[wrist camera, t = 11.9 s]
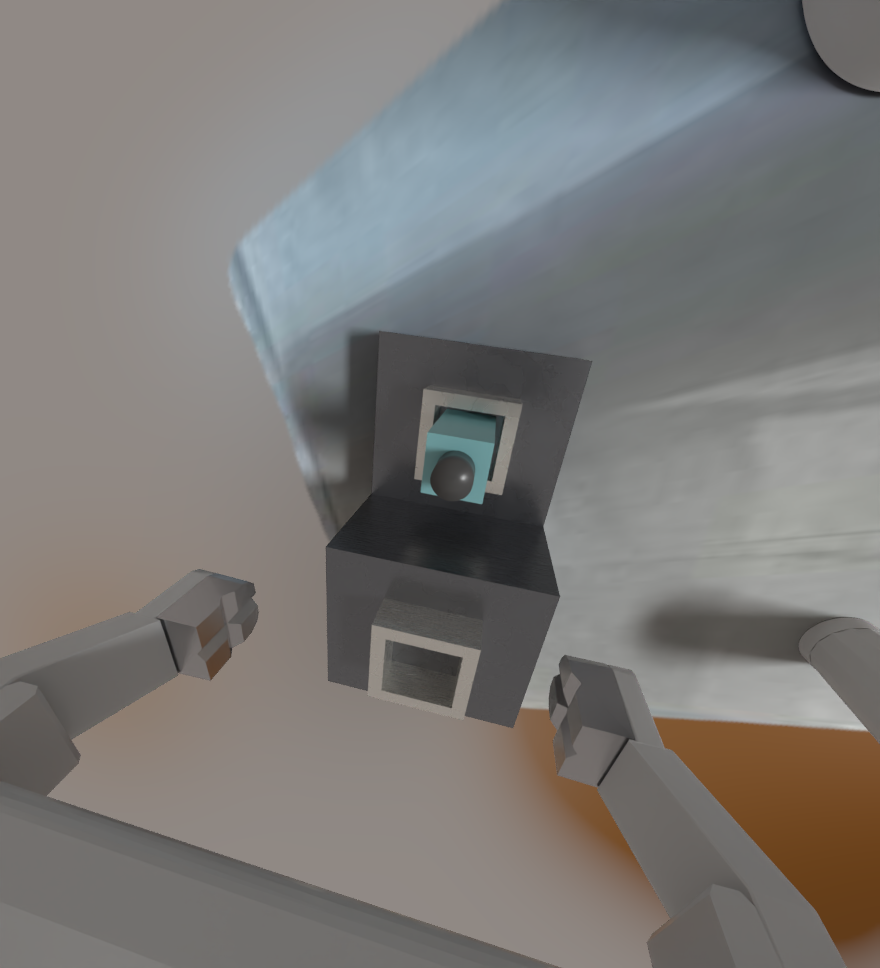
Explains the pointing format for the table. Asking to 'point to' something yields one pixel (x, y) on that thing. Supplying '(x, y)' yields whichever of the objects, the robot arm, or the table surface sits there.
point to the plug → (459, 456)
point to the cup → (848, 664)
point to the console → (453, 534)
